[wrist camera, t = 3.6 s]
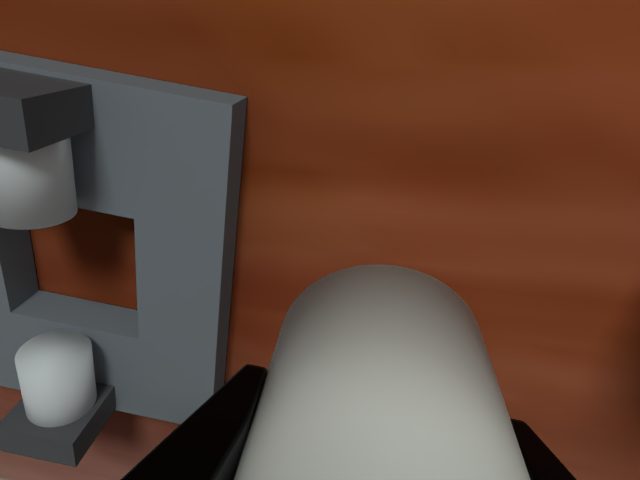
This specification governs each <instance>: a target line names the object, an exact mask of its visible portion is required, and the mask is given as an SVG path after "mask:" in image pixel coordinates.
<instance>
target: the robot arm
mask: <svg viewBox="0 0 640 480" xmlns="http://www.w3.org/2000/svg"><path fill="white" fill-rule="evenodd" d="M266 375H267V369H266V368H264V367H260V366H255V365H250V364H247V365H245V366H244V367H243V368H241V369H240V370H239V371H238V372H237V373H236V374H235V375H234V376H233V377H232V378H231V379H229V380H228V381H227V382H226V383H225V384H224V385H223V386H222V387H221V388H220V389H219V390H217V391H216V392H215V393H214V394H213V395H212V396H211V397H210V398H209V399H208V400H207V401H206V402H204V403H203V404H202V405H201V406H200V407H199V408H198V409H197V410H196V411H195V412H194V413H192V414H191V415H190V416H189V417H188V418H187V419H186V420H185V421H184V422H183V423H182V424H181V425H179V426H178V427H177V428H176V429H175V430H174V431H173V432H172V433H171V434H170V435H169V436H167V437H166V438H165V439H164V440H163V441H162V442H161V443H160V444H159V445H158V446H157V447H155V448H154V449H153V450H152V451H151V452H150V453H149V454H148V455H147V456H146V457H145V458H144V459H142V460H141V461H140V462H139V463H138V464H137V465H136V466H135V467H134V468H133V469H132V470H130V471H129V472H128V473H127V474H126V475H125V476H124V477H123V478H122V479H121V480H234V477H235V474H236V471H237V468H238V465H239V461H240V458H241V455H242V452H243V449H244V445H245V442H246V439H247V436H248V433H249V430H250V427H251V423H252V420H253V417H254V414H255V411H256V407H257V404H258V401H259V398H260V395H261V391H262V388H263V385H264V382H265V379H266ZM510 420H511V423H512V426H513V429H514V432H515V435H516V438H517V441H518V444H519V447H520V450H521V453H522V456H523V459H524V462H525V465H526V468H527V471H528V474H529V477H530V479H531V480H576V479H575V477H574V476H573V475H572V474H571V473H570V472H569V471H568V470H567V468H566V467H565V466H564V465H563V464H562V463H561V462H560V461H559V459H558V458H557V457H556V456H555V455H554V454H553V453H552V452H551V451H550V449H549V448H548V447H547V446H546V445H545V444H544V443H543V442H542V440H541V439H540V438H539V437H538V436H537V435H536V434H535V433H534V431H533V430H532V429H531V428H530V427H529V426H528V425H527V424H526V423H525V422H523V421H520V420H516V419H511V418H510Z"/></svg>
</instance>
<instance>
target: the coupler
mask: <svg viewBox="0 0 640 480" xmlns="http://www.w3.org/2000/svg"><path fill="white" fill-rule="evenodd" d="M234 480H531V479H530V477H529V474H528V471H527V468H526V465H525V462H524V459H523V456H522V453H521V450H520V447H519V444H518V441H517V438H516V435H515V432H514V429H513V426H512V423H511V420H510V417H509V414H508V411H507V408H506V405H505V402H504V399H503V397H502V394H501V391H500V388H499V385H498V382H497V379H496V376H495V373H494V370H493V367H492V364H491V361H490V358H489V355H488V352H487V349H486V346H485V343H484V340H483V337H482V334H481V331H480V328H479V326H478V323H477V320H476V318H475V316H474V315H473V313H472V311H471V309H470V308H469V307H468V305H467V304H466V303H465V301H464V300H463V299H462V298H461V297H460V296H459V295H458V294H457V293H456V292H455V291H454V290H452V289H451V288H449V287H448V286H447V285H445V284H444V283H442V282H441V281H439V280H437V279H435V278H433V277H431V276H429V275H427V274H424V273H422V272H419V271H416V270H413V269H409V268H405V267H400V266H393V265H362V266H356V267H351V268H346V269H343V270H340V271H337V272H334V273H331V274H329V275H327V276H325V277H323V278H321V279H319V280H318V281H316V282H315V283H313V284H311V285H310V286H309V287H308V288H306V289H305V290H304V291H303V292H302V293H301V294H300V295H299V296H298V297H297V298H296V300H295V301H294V302H293V303H292V305H291V307H290V308H289V310H288V311H287V314H286V316H285V318H284V321H283V324H282V327H281V330H280V333H279V337H278V340H277V343H276V346H275V349H274V353H273V356H272V359H271V362H270V365H269V369H268V372H267V375H266V379H265V382H264V385H263V388H262V391H261V395H260V398H259V401H258V404H257V407H256V411H255V414H254V417H253V420H252V423H251V427H250V430H249V433H248V436H247V439H246V442H245V445H244V449H243V452H242V455H241V458H240V461H239V465H238V468H237V471H236V474H235V477H234Z"/></svg>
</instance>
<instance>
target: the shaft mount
mask: <svg viewBox="0 0 640 480" xmlns="http://www.w3.org/2000/svg"><path fill="white" fill-rule="evenodd" d="M246 107H247V97H246V96H241V95H236V94H230V93H225V92H220V91H214V90H209V89H204V88H198V87H193V86H188V85H182V84H177V83H172V82H166V81H161V80H156V79H150V78H145V77H140V76H134V75H129V74H124V73H118V72H113V71H108V70H102V69H97V68H92V67H86V66H81V65H76V64H70V63H65V62H60V61H54V60H49V59H44V58H38V57H33V56H28V55H22V54H17V53H12V52H6V51H1V50H0V386H3V387H8V388H13V389H17V390H21V394H22V399H21V401H20V402H19V403H18V404H17V405H16V406H15V407H14V408H13V409H12V410H11V411H10V412H9V413H8V414H7V415H6V416H5V418H4V419H3V420H2V421H1V422H0V448H1V451H3V452H8V453H13V454H17V455H22V456H27V457H31V458H36V459H40V460H45V461H50V462H54V463H59V464H63V465H68V466H73V467H76V466H77V465H78V464H79V462H80V461H81V459H82V458H83V456H84V455H85V453H86V452H87V450H88V449H89V447H90V446H91V444H92V443H93V441H94V440H95V438H96V437H97V435H98V434H99V432H100V431H101V430H102V428H103V427H104V425H105V424H106V422H107V421H108V419H109V418H110V416H111V415H112V413H113V412H114V410H116V411H121V412H126V413H131V414H135V415H140V416H145V417H149V418H154V419H159V420H164V421H168V422H173V423H178V424H182V423H183V422H184V421H185V420H186V419H187V418H188V417H189V416H190V415H191V414H192V413H194V412H195V411H196V410H197V409H198V408H199V407H200V406H201V405H202V404H203V403H204V402H206V401H207V400H208V399H209V398H210V397H211V396H212V395H213V394H214V393H215V392H216V391H217V390H219V389H220V388H221V387H222V386H223V385H224V380H225V367H226V355H227V343H228V330H229V318H230V305H231V293H232V281H233V268H234V256H235V243H236V231H237V219H238V206H239V194H240V181H241V169H242V156H243V144H244V132H245V119H246ZM78 208H81V209H86V210H91V211H96V212H101V213H106V214H111V215H116V216H121V217H126V218H132V219H134V232H135V258H136V283H137V309H138V310H134V309H129V308H124V307H119V306H114V305H109V304H104V303H100V302H95V301H90V300H85V299H80V298H75V297H70V296H65V295H60V294H56V293H51V292H46V291H41V290H39V288H38V281H37V275H36V269H35V263H34V257H33V251H32V245H31V238H30V232H29V230H30V229H41V228H47V227H51V226H55V225H59V224H62V223H64V222H66V221H68V220H70V219H72V218H73V217H74V216H75V215H76V214H77V212H78Z"/></svg>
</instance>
